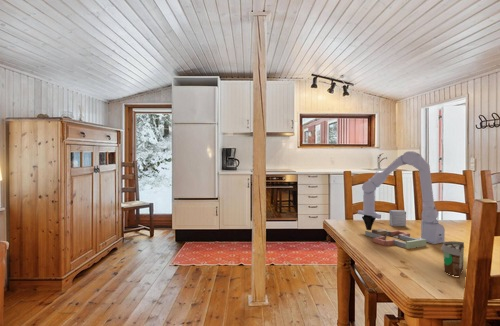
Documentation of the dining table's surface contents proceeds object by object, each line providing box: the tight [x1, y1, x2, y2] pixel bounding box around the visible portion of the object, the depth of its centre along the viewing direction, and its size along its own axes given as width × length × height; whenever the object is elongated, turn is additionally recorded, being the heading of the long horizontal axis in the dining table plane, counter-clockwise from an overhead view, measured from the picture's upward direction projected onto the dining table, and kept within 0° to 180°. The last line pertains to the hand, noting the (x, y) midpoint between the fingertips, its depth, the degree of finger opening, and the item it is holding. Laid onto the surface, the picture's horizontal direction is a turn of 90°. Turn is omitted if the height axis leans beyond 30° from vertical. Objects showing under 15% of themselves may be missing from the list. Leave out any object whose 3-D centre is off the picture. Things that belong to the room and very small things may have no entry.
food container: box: [440, 240, 465, 278], centre depth 115 cm, size 12×6×10 cm, turn 141°
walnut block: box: [371, 228, 387, 237], centre depth 166 cm, size 4×5×3 cm
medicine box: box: [388, 209, 407, 227], centre depth 188 cm, size 8×4×9 cm, turn 84°
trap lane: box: [364, 228, 427, 250], centre depth 157 cm, size 26×22×3 cm
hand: (368, 229), depth 172 cm, fingers closed
